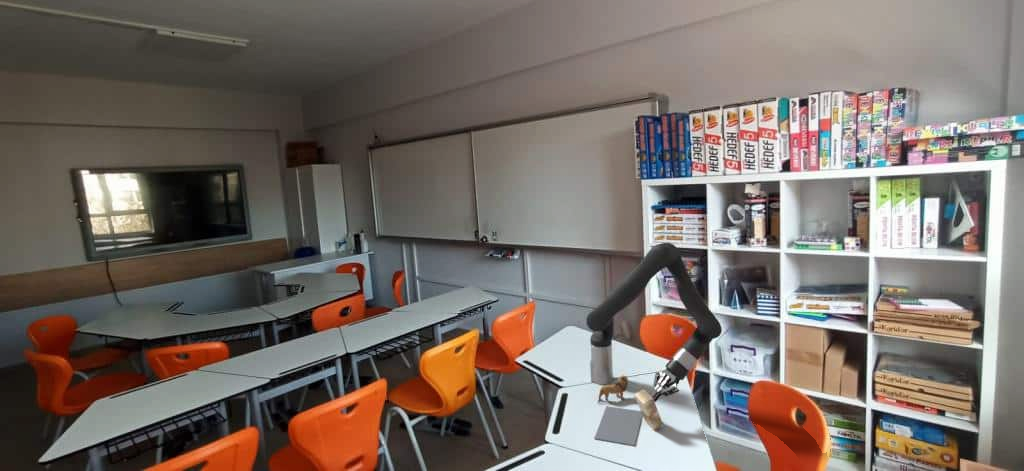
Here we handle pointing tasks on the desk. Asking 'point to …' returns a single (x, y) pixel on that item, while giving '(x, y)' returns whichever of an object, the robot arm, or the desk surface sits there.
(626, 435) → the slate mat
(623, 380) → the lion figurine
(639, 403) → the birch block
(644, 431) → the desk surface
